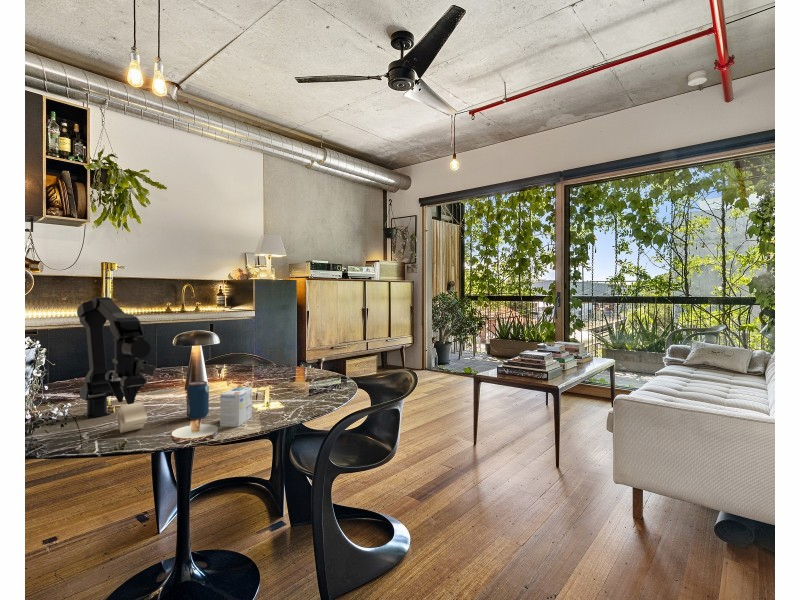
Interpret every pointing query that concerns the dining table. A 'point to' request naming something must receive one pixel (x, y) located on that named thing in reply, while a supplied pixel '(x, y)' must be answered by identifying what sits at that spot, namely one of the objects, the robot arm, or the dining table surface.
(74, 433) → the dining table surface
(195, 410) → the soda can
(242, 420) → the light bulb box
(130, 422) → the maple block
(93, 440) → the dining table surface
